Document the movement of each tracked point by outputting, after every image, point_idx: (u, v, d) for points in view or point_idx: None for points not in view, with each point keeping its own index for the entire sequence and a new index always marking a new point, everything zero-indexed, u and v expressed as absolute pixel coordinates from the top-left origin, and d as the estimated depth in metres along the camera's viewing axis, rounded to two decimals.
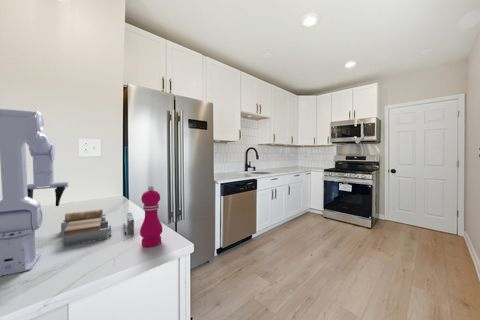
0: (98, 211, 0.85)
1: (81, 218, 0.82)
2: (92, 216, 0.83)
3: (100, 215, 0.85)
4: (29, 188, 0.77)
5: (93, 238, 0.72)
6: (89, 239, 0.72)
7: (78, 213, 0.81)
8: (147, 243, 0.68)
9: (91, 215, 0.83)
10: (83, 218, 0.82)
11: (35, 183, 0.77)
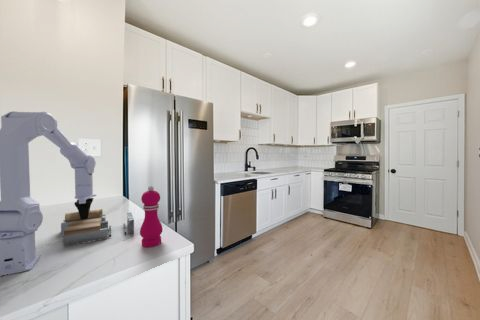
0: (98, 211, 0.85)
1: None
2: (92, 216, 0.83)
3: (100, 215, 0.85)
4: None
5: (93, 238, 0.72)
6: (89, 239, 0.72)
7: (78, 213, 0.81)
8: (147, 243, 0.68)
9: (91, 215, 0.83)
10: None
11: None
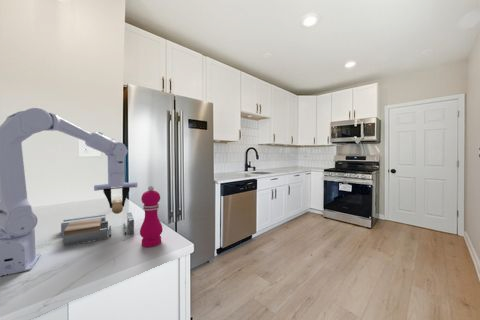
0: (120, 199, 0.85)
1: None
2: None
3: None
4: (104, 188, 0.78)
5: (93, 238, 0.72)
6: (89, 239, 0.72)
7: (120, 202, 0.79)
8: (147, 243, 0.68)
9: (121, 203, 0.83)
10: None
11: (111, 183, 0.78)
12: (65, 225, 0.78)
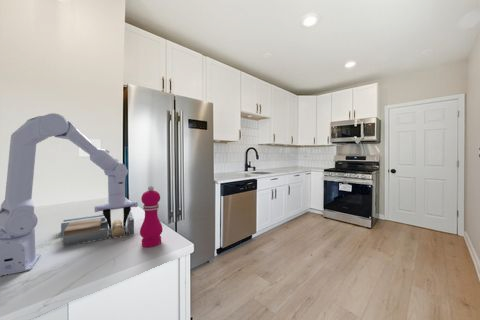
0: (120, 221, 0.85)
1: None
2: None
3: None
4: (105, 209, 0.78)
5: (93, 238, 0.72)
6: (89, 239, 0.72)
7: (120, 225, 0.79)
8: (147, 243, 0.68)
9: None
10: None
11: (111, 204, 0.78)
12: (65, 225, 0.78)
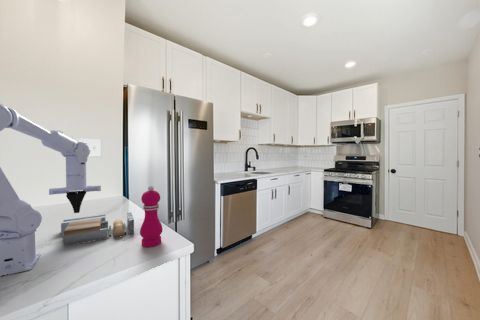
0: None
1: None
2: None
3: None
4: (62, 192, 0.71)
5: (93, 238, 0.72)
6: (89, 239, 0.72)
7: (122, 226, 0.80)
8: (147, 243, 0.68)
9: None
10: None
11: (68, 186, 0.71)
12: (65, 225, 0.78)
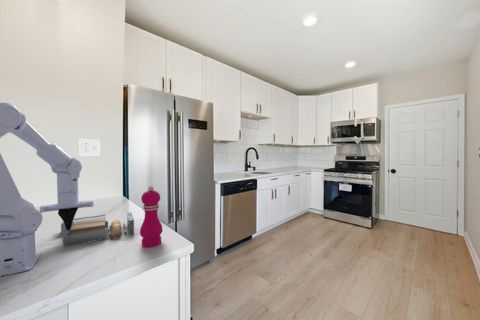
0: (118, 220, 0.85)
1: None
2: (120, 225, 0.84)
3: (120, 223, 0.86)
4: (53, 209, 0.70)
5: (93, 238, 0.72)
6: (89, 239, 0.72)
7: (117, 225, 0.79)
8: (147, 243, 0.68)
9: (120, 224, 0.83)
10: None
11: (60, 204, 0.70)
12: None
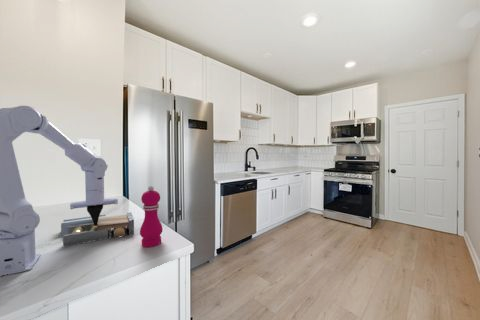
0: None
1: None
2: None
3: None
4: (81, 206, 0.74)
5: (93, 238, 0.72)
6: (89, 239, 0.72)
7: None
8: (147, 243, 0.68)
9: None
10: None
11: (88, 201, 0.74)
12: (65, 225, 0.78)
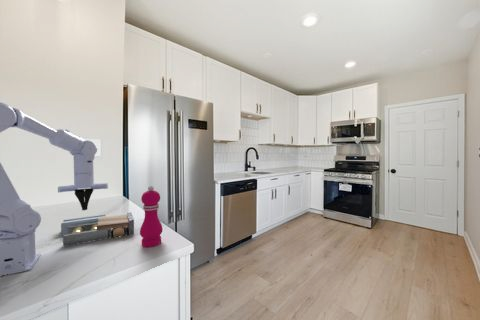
0: None
1: None
2: None
3: None
4: (70, 190, 0.73)
5: (93, 238, 0.72)
6: (89, 239, 0.72)
7: None
8: (147, 243, 0.68)
9: None
10: None
11: (76, 184, 0.72)
12: (65, 225, 0.78)
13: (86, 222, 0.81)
